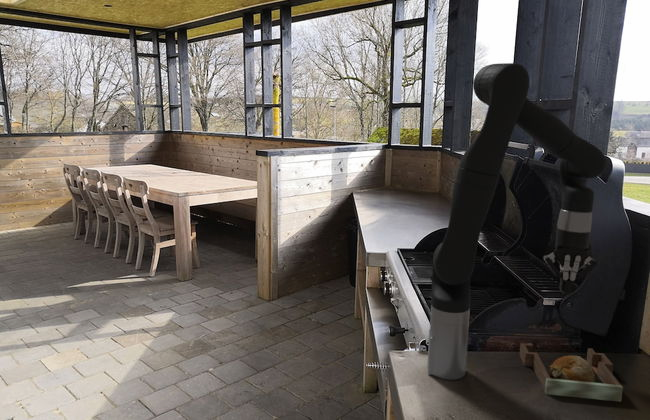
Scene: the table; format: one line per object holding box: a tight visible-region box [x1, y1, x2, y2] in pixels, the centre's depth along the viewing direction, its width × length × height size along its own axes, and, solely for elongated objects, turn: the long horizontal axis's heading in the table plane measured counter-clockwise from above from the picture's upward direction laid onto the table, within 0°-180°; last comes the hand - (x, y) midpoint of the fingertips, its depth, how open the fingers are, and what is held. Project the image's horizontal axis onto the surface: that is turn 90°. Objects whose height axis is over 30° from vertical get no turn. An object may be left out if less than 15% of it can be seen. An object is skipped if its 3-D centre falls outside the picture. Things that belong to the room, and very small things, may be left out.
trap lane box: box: [519, 342, 624, 403], centre depth 120 cm, size 20×20×4 cm
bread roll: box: [548, 355, 596, 383], centre depth 118 cm, size 10×10×8 cm
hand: (565, 292), depth 126 cm, fingers closed
